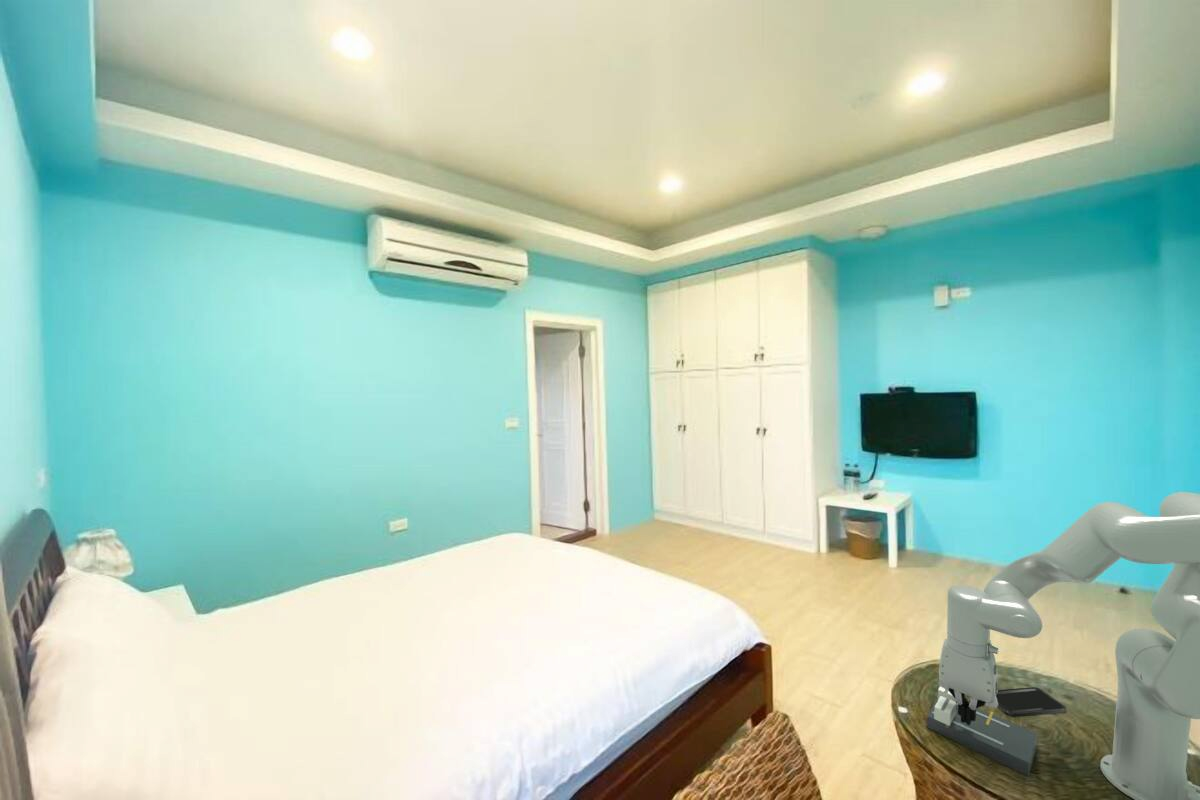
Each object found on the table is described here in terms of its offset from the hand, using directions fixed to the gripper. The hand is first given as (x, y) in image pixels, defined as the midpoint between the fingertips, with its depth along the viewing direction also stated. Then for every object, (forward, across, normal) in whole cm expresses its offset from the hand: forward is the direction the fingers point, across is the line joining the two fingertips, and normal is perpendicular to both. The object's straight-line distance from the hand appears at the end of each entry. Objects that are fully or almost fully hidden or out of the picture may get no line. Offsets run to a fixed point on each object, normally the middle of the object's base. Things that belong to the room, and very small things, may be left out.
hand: (966, 720), depth 109 cm
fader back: (+1, +5, -7) cm, 8 cm away
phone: (+6, -7, -23) cm, 25 cm away
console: (+5, -2, -3) cm, 6 cm away
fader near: (+1, +4, 0) cm, 4 cm away
